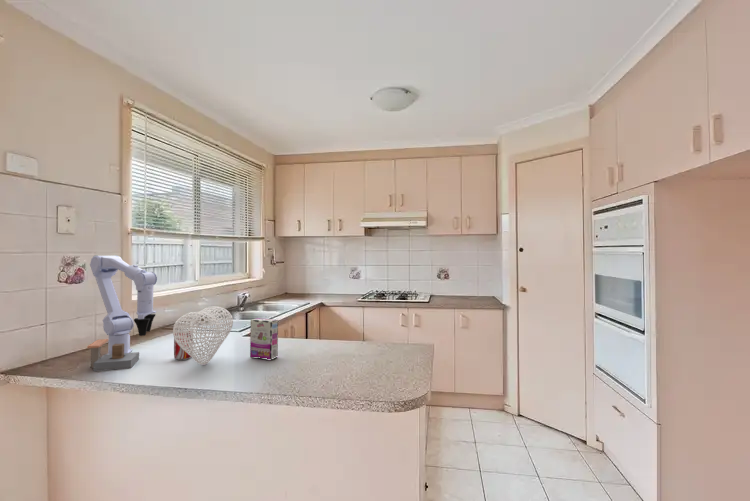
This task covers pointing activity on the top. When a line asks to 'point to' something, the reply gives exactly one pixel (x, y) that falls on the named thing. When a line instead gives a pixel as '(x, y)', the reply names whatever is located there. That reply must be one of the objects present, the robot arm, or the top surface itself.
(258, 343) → the candy bar box
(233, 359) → the top surface
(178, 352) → the soda can
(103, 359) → the socket block
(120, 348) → the peg
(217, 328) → the heart
